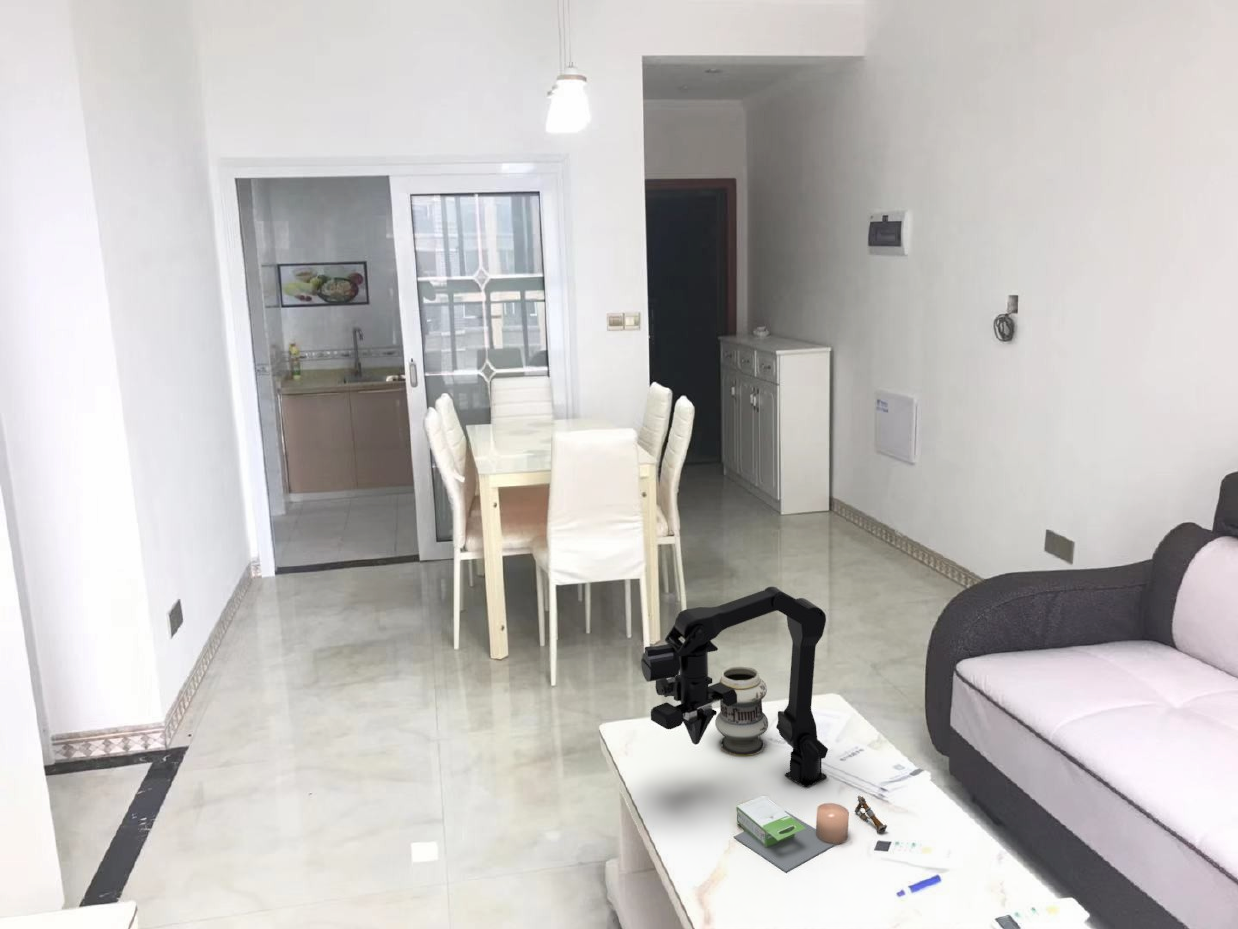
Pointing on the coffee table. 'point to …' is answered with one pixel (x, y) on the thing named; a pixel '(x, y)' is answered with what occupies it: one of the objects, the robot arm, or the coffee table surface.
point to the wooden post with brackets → (869, 814)
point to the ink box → (766, 821)
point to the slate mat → (788, 847)
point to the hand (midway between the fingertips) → (695, 743)
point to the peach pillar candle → (832, 823)
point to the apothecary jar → (742, 712)
